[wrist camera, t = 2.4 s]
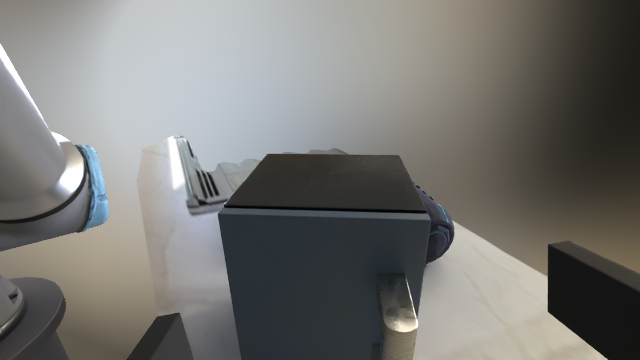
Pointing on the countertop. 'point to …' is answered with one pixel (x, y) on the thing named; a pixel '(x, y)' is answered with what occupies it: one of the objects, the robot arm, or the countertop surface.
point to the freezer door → (324, 282)
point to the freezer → (329, 184)
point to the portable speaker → (437, 227)
